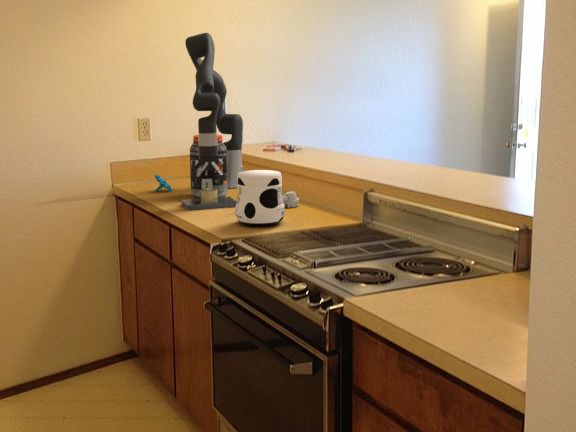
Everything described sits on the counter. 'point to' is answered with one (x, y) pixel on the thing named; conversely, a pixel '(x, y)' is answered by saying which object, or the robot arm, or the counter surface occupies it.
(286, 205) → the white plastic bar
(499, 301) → the counter surface
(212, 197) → the brass hub
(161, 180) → the gear
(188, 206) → the post stand
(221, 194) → the supplement tub
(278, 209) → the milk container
